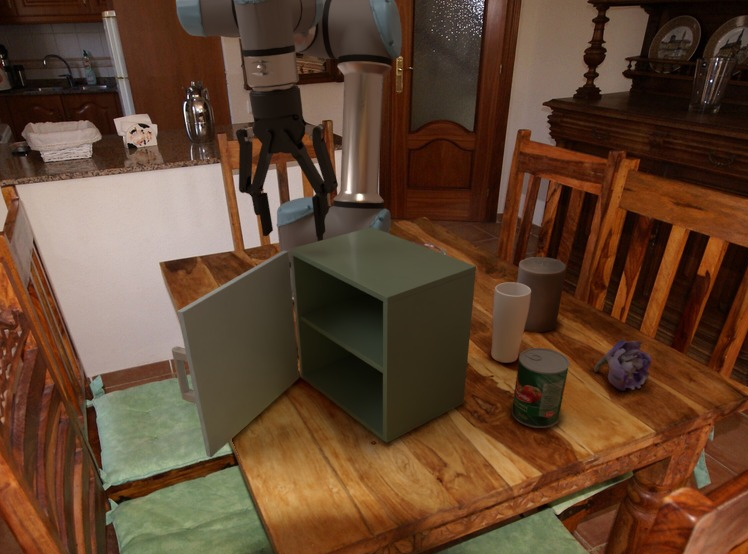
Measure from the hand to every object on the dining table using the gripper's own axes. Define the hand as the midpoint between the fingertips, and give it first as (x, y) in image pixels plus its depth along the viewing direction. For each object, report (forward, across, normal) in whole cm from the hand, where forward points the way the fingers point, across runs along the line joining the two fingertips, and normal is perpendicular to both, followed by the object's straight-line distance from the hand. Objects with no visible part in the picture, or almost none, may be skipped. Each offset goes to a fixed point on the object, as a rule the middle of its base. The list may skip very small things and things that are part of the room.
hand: (294, 233), depth 96 cm
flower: (+32, +56, +10) cm, 65 cm away
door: (+28, -8, -14) cm, 32 cm away
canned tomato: (+31, +41, -4) cm, 52 cm away
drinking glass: (+31, +36, +14) cm, 50 cm away
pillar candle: (+32, +42, +31) cm, 61 cm away
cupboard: (+29, +14, -2) cm, 32 cm away
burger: (+29, -8, +9) cm, 32 cm away
